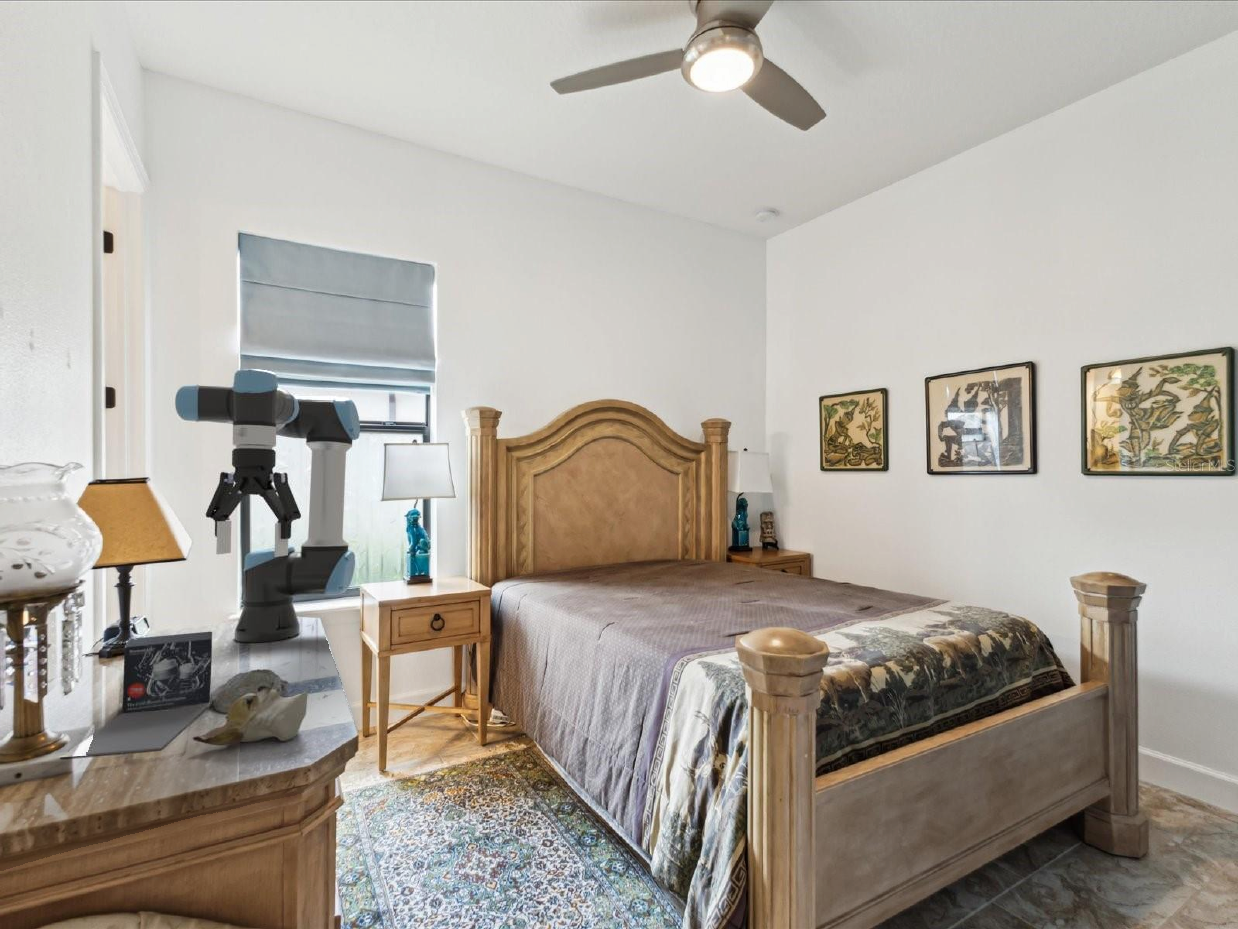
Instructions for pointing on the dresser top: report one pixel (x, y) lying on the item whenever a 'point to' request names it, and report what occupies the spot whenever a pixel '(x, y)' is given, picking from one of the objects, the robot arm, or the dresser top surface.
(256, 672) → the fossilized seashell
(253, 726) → the ceramic sculpture
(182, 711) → the mat
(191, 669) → the small box
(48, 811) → the dresser top surface
